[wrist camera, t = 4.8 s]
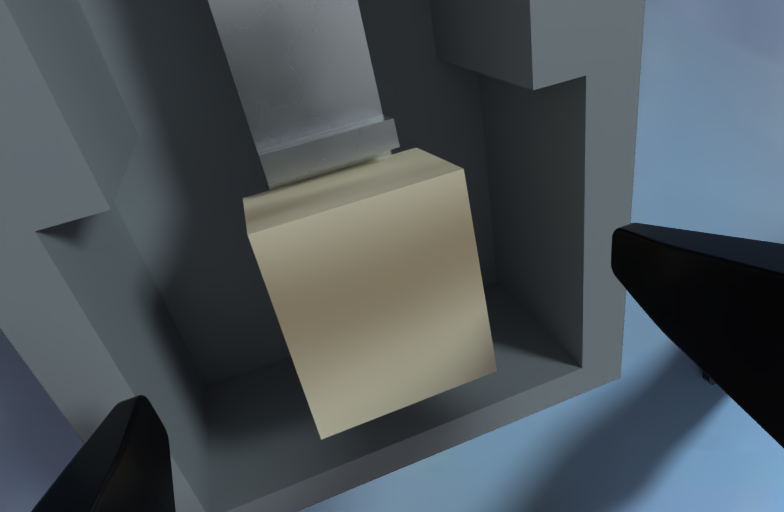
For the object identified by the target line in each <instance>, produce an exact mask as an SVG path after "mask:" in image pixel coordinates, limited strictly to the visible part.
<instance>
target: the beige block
mask: <svg viewBox="0 0 784 512" xmlns="http://www.w3.org/2000/svg"><path fill="white" fill-rule="evenodd" d="M243 205H244V212H245V220H246V227H247V235H248V238H249V240H250V243H251V246H252V249H253V252H254V254H255V257H256V260H257V263H258V265H259V268H260V271H261V274H262V277H263V279H264V282H265V285H266V288H267V290H268V293H269V296H270V299H271V302H272V304H273V307H274V310H275V313H276V315H277V318H278V321H279V324H280V326H281V329H282V332H283V335H284V338H285V340H286V343H287V346H288V349H289V351H290V354H291V357H292V360H293V363H294V365H295V368H296V371H297V374H298V376H299V379H300V382H301V385H302V388H303V390H304V393H305V396H306V399H307V401H308V404H309V407H310V410H311V413H312V415H313V418H314V421H315V424H316V426H317V429H318V432H319V435H320V438H321V440H322V439H324V438H327V437H329V436H332V435H334V434H337V433H340V432H342V431H345V430H347V429H350V428H352V427H355V426H357V425H360V424H363V423H365V422H368V421H370V420H373V419H375V418H378V417H381V416H383V415H386V414H388V413H391V412H393V411H396V410H398V409H401V408H404V407H406V406H409V405H411V404H414V403H416V402H419V401H422V400H424V399H427V398H429V397H432V396H434V395H437V394H439V393H442V392H445V391H447V390H450V389H452V388H455V387H457V386H460V385H462V384H465V383H468V382H470V381H473V380H475V379H478V378H480V377H483V376H486V375H488V374H491V373H493V372H496V371H497V367H496V361H495V355H494V349H493V343H492V337H491V330H490V324H489V318H488V312H487V306H486V300H485V294H484V288H483V282H482V276H481V270H480V264H479V258H478V252H477V246H476V240H475V234H474V228H473V222H472V216H471V210H470V204H469V198H468V192H467V186H466V180H465V174H464V169H463V168H461V167H459V166H456V165H454V164H452V163H450V162H448V161H445V160H443V159H441V158H439V157H436V156H434V155H432V154H430V153H428V152H425V151H423V150H421V149H419V148H413V149H409V150H406V151H403V152H399V153H396V154H392V155H389V156H386V157H382V158H379V159H375V160H372V161H368V162H365V163H362V164H358V165H355V166H351V167H348V168H344V169H341V170H338V171H334V172H331V173H327V174H324V175H320V176H317V177H314V178H310V179H307V180H303V181H300V182H297V183H293V184H290V185H286V186H283V187H279V188H276V189H273V190H269V191H266V192H262V193H259V194H255V195H252V196H248V197H245V198H243Z"/></svg>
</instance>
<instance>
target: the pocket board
mask: <svg viewBox="0 0 784 512" xmlns="http://www.w3.org/2000/svg"><path fill="white" fill-rule="evenodd" d="M358 5H359V9H360V14H361V18H362V23H363V27H364V32H365V36H366V41H367V45H368V50H369V54H370V59H371V63H372V68H373V72H374V77H375V81H376V86H377V90H378V95H379V99H380V104H381V108H382V113H383V115H385V116H388V117H391V118H394V122H395V127H396V132H397V136H398V141H399V146H400V147H398V148H395V149H391V154H396V153H399V152H403V151H406V150H409V149H413V148H419V149H421V150H423V151H425V152H428V153H430V154H432V155H434V156H436V157H439V158H441V159H443V160H445V161H448V162H450V163H452V164H454V165H456V166H459V167H461V168H463V169H464V174H465V180H466V186H467V192H468V198H469V204H470V210H471V216H472V222H473V228H474V234H475V240H476V246H477V252H478V258H479V264H480V270H481V276H482V282H483V288H484V294H485V300H486V306H487V312H488V318H489V324H490V330H491V337H492V343H493V349H494V355H495V361H496V367H497V371H496V372H493V373H491V374H488V375H486V376H483V377H480V378H478V379H475V380H473V381H470V382H468V383H465V384H462V385H460V386H457V387H455V388H452V389H450V390H447V391H445V392H442V393H439V394H437V395H434V396H432V397H429V398H427V399H424V400H422V401H419V402H416V403H414V404H411V405H409V406H406V407H404V408H401V409H398V410H396V411H393V412H391V413H388V414H386V415H383V416H381V417H378V418H375V419H373V420H370V421H368V422H365V423H363V424H360V425H357V426H355V427H352V428H350V429H347V430H345V431H342V432H340V433H337V434H334V435H332V436H329V437H327V438H324V439H322V440H321V438H320V435H319V432H318V429H317V426H316V424H315V421H314V418H313V415H312V413H311V410H310V407H309V404H308V401H307V399H306V396H305V393H304V390H303V388H302V385H301V382H300V379H299V376H298V374H297V371H296V368H295V365H294V363H293V360H292V357H291V354H290V351H289V349H288V346H287V343H286V340H285V338H284V335H283V332H282V329H281V326H280V324H279V321H278V318H277V315H276V313H275V310H274V307H273V304H272V302H271V299H270V296H269V293H268V290H267V288H266V285H265V282H264V279H263V277H262V274H261V271H260V268H259V265H258V263H257V260H256V257H255V254H254V252H253V249H252V246H251V243H250V240H249V238H248V235H247V227H246V220H245V212H244V205H243V198H245V197H248V196H252V195H255V194H259V193H262V192H266V191H269V190H270V189H269V186H268V183H267V180H266V177H265V174H264V171H263V168H262V165H261V162H260V158H259V155H258V152H257V149H256V146H255V143H254V140H253V137H252V134H251V131H250V128H249V125H248V122H247V119H246V116H245V113H244V110H243V107H242V104H241V101H240V98H239V95H238V91H237V88H236V85H235V82H234V79H233V76H232V73H231V70H230V67H229V64H228V61H227V58H226V55H225V52H224V49H223V46H222V43H221V40H220V37H219V34H218V31H217V28H216V24H215V21H214V18H213V15H212V12H211V9H210V6H209V3H208V0H0V329H1V330H2V331H3V333H4V334H5V336H6V337H7V338H8V340H9V341H10V342H11V344H12V345H13V347H14V348H15V349H16V351H17V352H18V353H19V355H20V356H21V358H22V359H23V360H24V362H25V363H26V364H27V366H28V367H29V369H30V370H31V371H32V373H33V374H34V375H35V377H36V378H37V380H38V381H39V382H40V384H41V385H42V386H43V388H44V389H45V390H46V392H47V393H48V395H49V396H50V397H51V399H52V400H53V401H54V403H55V404H56V406H57V407H58V408H59V410H60V411H61V412H62V414H63V415H64V417H65V418H66V419H67V421H68V422H69V423H70V425H71V426H72V428H73V429H74V430H75V432H76V433H77V434H78V436H79V437H80V439H81V440H82V441H83V443H84V444H85V443H86V441H87V440H88V439H89V438H90V436H91V435H92V434H93V433H94V431H95V430H96V429H97V428H98V426H99V425H100V424H101V423H102V421H103V420H104V419H105V418H106V416H107V415H108V414H109V412H110V411H111V410H112V409H113V407H114V406H115V405H116V404H117V403H119V402H121V401H124V400H127V399H129V398H132V397H135V396H138V395H143V396H145V397H147V398H148V400H149V401H150V403H151V404H152V406H153V408H154V409H155V411H156V413H157V415H158V416H159V418H160V420H161V421H162V423H163V425H164V426H165V428H166V431H167V434H168V438H169V446H170V456H171V467H172V477H173V488H174V499H175V509H176V512H297V511H299V510H301V509H304V508H306V507H309V506H311V505H314V504H316V503H318V502H321V501H323V500H326V499H328V498H330V497H333V496H335V495H338V494H340V493H343V492H345V491H347V490H350V489H352V488H355V487H357V486H360V485H362V484H364V483H367V482H369V481H372V480H374V479H376V478H379V477H381V476H384V475H386V474H389V473H391V472H393V471H396V470H398V469H401V468H403V467H405V466H408V465H410V464H413V463H415V462H418V461H420V460H422V459H425V458H427V457H430V456H432V455H434V454H437V453H439V452H442V451H444V450H447V449H449V448H451V447H454V446H456V445H459V444H461V443H464V442H466V441H468V440H471V439H473V438H476V437H478V436H480V435H483V434H485V433H488V432H490V431H493V430H495V429H497V428H500V427H502V426H505V425H507V424H509V423H512V422H514V421H517V420H519V419H522V418H524V417H526V416H529V415H531V414H534V413H536V412H539V411H541V410H543V409H546V408H548V407H551V406H553V405H555V404H558V403H560V402H563V401H565V400H568V399H570V398H572V397H575V396H577V395H580V394H582V393H584V392H587V391H589V390H592V389H594V388H597V387H599V386H601V385H604V384H606V383H609V382H611V381H613V380H616V379H618V378H620V376H621V361H622V346H623V330H624V315H625V300H626V289H625V287H624V286H623V285H622V284H621V283H620V281H619V280H618V279H617V278H616V277H615V275H614V273H613V271H612V268H611V246H612V234H613V232H614V230H616V229H617V228H619V227H622V226H625V225H628V224H630V223H631V208H632V192H633V177H634V162H635V146H636V131H637V116H638V100H639V85H640V70H641V54H642V39H643V24H644V8H645V0H358Z"/></svg>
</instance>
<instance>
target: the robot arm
mask: <svg viewBox="0 0 784 512" xmlns="http://www.w3.org/2000/svg"><path fill="white" fill-rule="evenodd" d="M611 268H612V271H613V273H614V275H615V277H616V278H617V279H618V280H619V281H620V283H621V284H622V285H623V286H624V287H625V289H626V290H627V291H628V292H629V293H630V294H631V296H632V297H633V298H634V299H635V300H636V301H637V303H638V304H639V305H640V306H641V307H642V309H643V310H644V311H645V312H646V313H647V314H648V316H649V317H650V318H651V319H652V320H653V321H654V323H655V324H656V325H657V326H658V327H659V328H660V329H661V330H662V331H663V333H664V334H665V335H666V336H667V337H668V338H669V339H670V340H671V341H672V342H674V343H675V344H676V345H677V346H678V347H679V348H680V349H681V350H682V351H683V352H684V353H685V354H686V355H687V356H688V357H689V358H690V359H691V360H692V361H693V362H694V363H695V364H696V365H697V366H699V367H700V368H701V369H702V370H703V378H704V379H705V380H706V381H707V382H709V383H710V384H712V385H714V384H717V385H718V386H719V387H720V388H721V389H723V390H724V391H725V392H726V393H727V394H728V395H729V396H730V397H731V398H732V399H733V400H734V401H735V402H736V403H737V404H738V405H739V406H740V407H741V408H742V409H743V410H744V411H745V412H746V413H748V414H749V415H750V416H751V417H752V418H753V419H754V420H755V421H756V422H757V423H758V424H759V425H760V426H761V427H762V428H763V429H764V430H765V431H766V432H767V433H768V434H769V435H770V436H771V437H773V438H774V439H775V440H776V441H777V442H778V443H779V444H780V445H781V446H782V447H783V448H784V244H780V243H773V242H766V241H759V240H752V239H745V238H738V237H731V236H724V235H717V234H710V233H703V232H696V231H689V230H682V229H675V228H668V227H662V226H655V225H648V224H641V223H631V224H628V225H625V226H622V227H619V228H617V229H616V230H614V232H613V234H612V246H611ZM31 512H176V509H175V499H174V488H173V477H172V467H171V456H170V446H169V438H168V434H167V431H166V428H165V426H164V425H163V423H162V421H161V420H160V418H159V416H158V415H157V413H156V411H155V409H154V408H153V406H152V404H151V403H150V401H149V400H148V398H147V397H145V396H143V395H138V396H135V397H132V398H129V399H127V400H124V401H121V402H119V403H117V404H116V405H115V406H114V407H113V409H112V410H111V411H110V412H109V414H108V415H107V416H106V418H105V419H104V420H103V421H102V423H101V424H100V425H99V426H98V428H97V429H96V430H95V431H94V433H93V434H92V435H91V436H90V438H89V439H88V440H87V441H86V443H85V444H84V445H83V447H82V448H81V449H80V450H79V452H78V453H77V454H76V455H75V457H74V458H73V459H72V460H71V462H70V463H69V464H68V465H67V467H66V468H65V469H64V470H63V472H62V473H61V474H60V476H59V477H58V478H57V479H56V481H55V482H54V483H53V484H52V486H51V487H50V488H49V489H48V491H47V492H46V493H45V494H44V496H43V497H42V498H41V499H40V501H39V502H38V503H37V504H36V506H35V507H34V508H33V510H32V511H31Z"/></svg>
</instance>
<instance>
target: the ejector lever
mask: <svg viewBox="0 0 784 512" xmlns="http://www.w3.org/2000/svg"><path fill="white" fill-rule="evenodd" d="M208 3H209V6H210V9H211V12H212V15H213V18H214V21H215V24H216V28H217V31H218V34H219V37H220V40H221V43H222V46H223V49H224V52H225V55H226V58H227V61H228V64H229V67H230V70H231V73H232V76H233V79H234V82H235V85H236V88H237V91H238V95H239V98H240V101H241V104H242V107H243V110H244V113H245V116H246V119H247V122H248V125H249V128H250V131H251V134H252V137H253V140H254V143H255V146H256V149H257V152H258V155H259V158H260V162H261V165H262V168H263V171H264V174H265V177H266V180H267V183H268V186H269V189H270V190H273V189H276V188H279V187H283V186H286V185H290V184H293V183H297V182H300V181H303V180H307V179H310V178H314V177H317V176H320V175H324V174H327V173H331V172H334V171H338V170H341V169H344V168H348V167H351V166H355V165H358V164H362V163H365V162H368V161H372V160H375V159H379V158H382V157H386V156H389V155H392V154H391V149H395V148H398V147H400V146H399V141H398V136H397V132H396V127H395V122H394V118H391V117H388V116H385V115H383V113H382V108H381V104H380V99H379V95H378V90H377V86H376V81H375V77H374V72H373V68H372V63H371V59H370V54H369V50H368V45H367V41H366V36H365V32H364V27H363V23H362V18H361V14H360V9H359V5H358V0H208Z"/></svg>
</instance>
